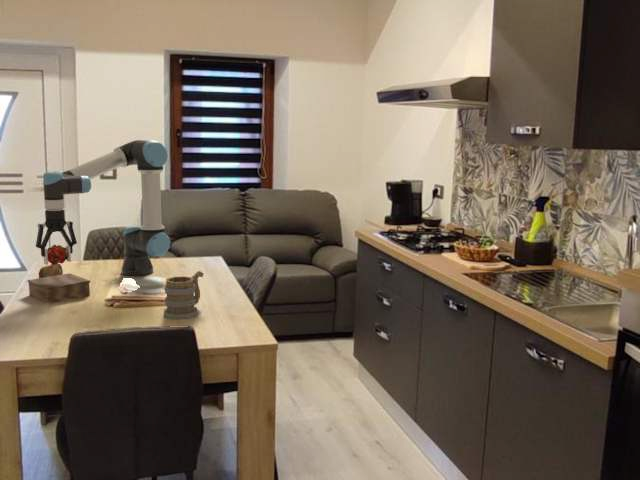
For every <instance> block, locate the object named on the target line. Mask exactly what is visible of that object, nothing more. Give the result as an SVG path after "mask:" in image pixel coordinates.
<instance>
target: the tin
mask: <svg viewBox="0 0 640 480" xmlns="http://www.w3.org/2000/svg"><path fill="white" fill-rule="evenodd" d="M63 271H64V270H63V267H62V265H61V263H57V264H56V265H52V264H51V263H50V264H47V265H46V266H42V267H41V268H40V269H39V271H38V278H44V277H50V276H56V275H63V273H64V272H63Z"/></svg>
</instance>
